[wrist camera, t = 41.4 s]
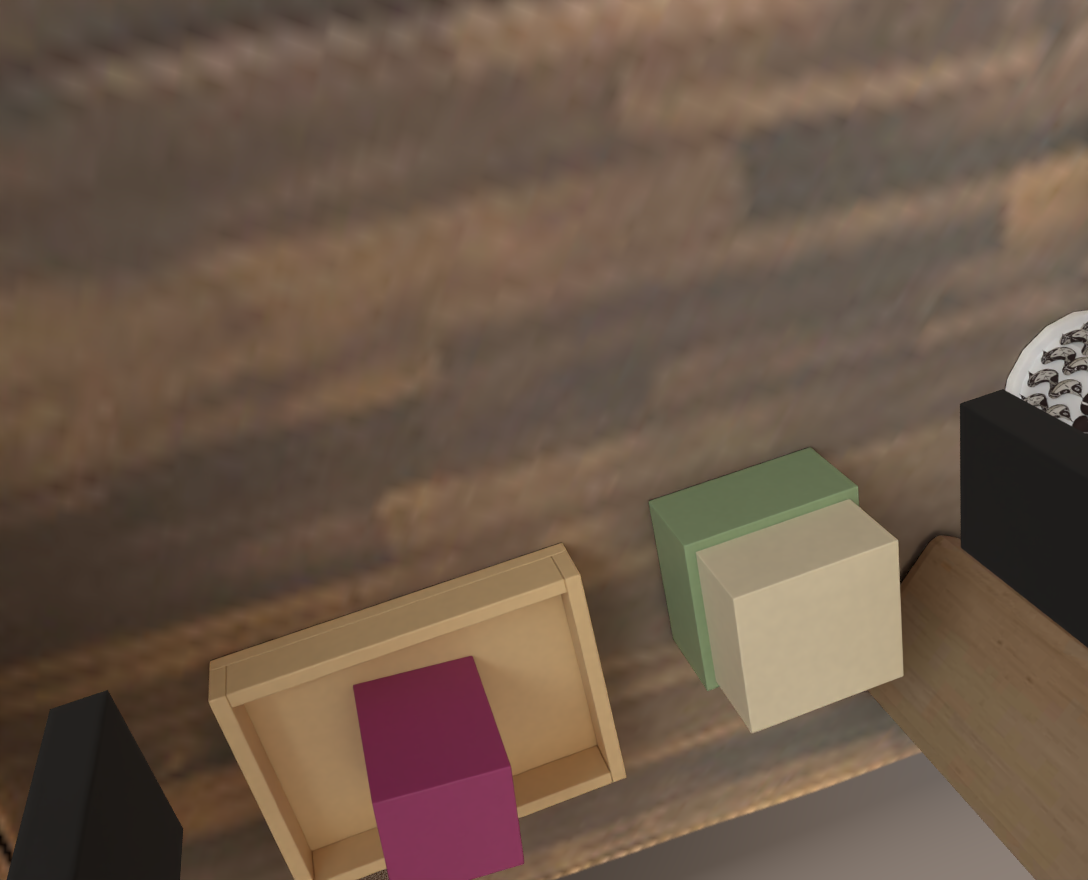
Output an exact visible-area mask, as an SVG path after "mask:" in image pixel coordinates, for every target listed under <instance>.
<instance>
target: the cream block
mask: <svg viewBox="0 0 1088 880" xmlns="http://www.w3.org/2000/svg"><path fill="white" fill-rule="evenodd" d="M696 558H697V565H698V571H699V577H700V584H701V590H702V596H703V603H704V609H705V615H706V622H707V628H708V634H709V641H710V647H711V653H712V660H713V666H714V672H715V679H716V682H717V683H718V685H719V686H720V688H721V689H722V691H723V692H724V693H725V695H726V696H727V698H728V699H729V701H730V702H731V704H732V705H733V707H734V708H735V710H736V711H737V713H738V714H739V716H740V717H741V718H742V720H743V721H744V723H745V724H746V726H747V727H748V729H749V730H750V732H751V733H755V732H758V731H760V730H763V729H766V728H768V727H771V726H773V725H776V724H779V723H781V722H784V721H787V720H789V719H792V718H794V717H797V716H800V715H802V714H805V713H808V712H810V711H813V710H816V709H818V708H821V707H823V706H826V705H829V704H831V703H834V702H837V701H839V700H842V699H844V698H847V697H850V696H852V695H855V694H858V693H860V692H863V691H865V690H868V689H871V688H873V687H876V686H879V685H881V684H884V683H887V682H889V681H892V680H894V679H897V678H900V677H902V676H903V649H902V624H901V598H900V573H899V548H898V540H897V539H896V538H895V537H894V536H893V535H891V534H890V533H889V532H888V531H887V530H886V529H884V528H883V527H882V526H881V525H880V524H879V523H877V522H876V521H875V520H874V519H873V518H871V517H870V516H869V515H868V514H867V513H866V512H864V511H863V510H862V509H861V508H860V507H859V506H857V505H856V504H855V503H854V502H853V501H852V500H850V499H847V500H845V501H842V502H839V503H836V504H833V505H830V506H827V507H824V508H821V509H819V510H816V511H813V512H810V513H807V514H804V515H801V516H798V517H795V518H793V519H790V520H787V521H784V522H781V523H778V524H775V525H772V526H769V527H767V528H764V529H761V530H758V531H755V532H752V533H749V534H746V535H743V536H741V537H738V538H735V539H732V540H729V541H726V542H723V543H720V544H717V545H715V546H712V547H709V548H706V549H703V550H700V551H697V552H696Z"/></svg>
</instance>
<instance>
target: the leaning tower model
mask: <svg viewBox="0 0 1088 880" xmlns="http://www.w3.org/2000/svg"><path fill="white" fill-rule="evenodd" d="M1005 391H1007V392H1009V393H1011V394H1013V395H1015V396H1017V397H1018V398H1020V399H1022V400H1024V401H1026V402H1028V403H1030V404H1031V405H1033V406H1035V407H1037V408H1039V409H1041V410H1043V411H1044V412H1046V413H1048V414H1050V415H1052V416H1054V417H1056V418H1057V419H1059V420H1061V421H1063V422H1065V423H1067V424H1069V425H1070V426H1072V427H1074V428H1076V429H1078V430H1080V431H1082V432H1084V433H1085V434H1087V435H1088V310H1086V311H1078V312H1072V313H1070V314H1069V315H1067V316H1065V317H1063V318H1061V319H1059V320H1057V321H1056V322H1054V323H1052V324H1050V325H1048V326H1046V327H1045V328H1044V329H1043V330H1042V331H1041V332H1040V333H1039V334H1038V335H1037V336H1036V337H1035V338H1034V339H1033V340H1032V341H1031V342H1030V343H1029V344H1028V346H1027V347H1026V348H1025V349H1024V350H1023V351H1022V353H1021V355H1020V357H1019V358H1018V360H1017V362H1016V364H1015V366H1014V367H1013V369H1012V371H1011V373H1010V375H1009V377H1008V379H1007V384H1006V389H1005Z"/></svg>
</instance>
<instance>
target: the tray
mask: <svg viewBox="0 0 1088 880" xmlns="http://www.w3.org/2000/svg"><path fill="white" fill-rule="evenodd" d="M468 656H473V658H474V661H475V664H476V667H477V670H478V673H479V675H480V678H481V681H482V684H483V687H484V690H485V693H486V696H487V698H488V701H489V704H490V707H491V710H492V713H493V716H494V718H495V721H496V724H497V727H498V730H499V733H500V736H501V739H502V741H503V744H504V747H505V750H506V753H507V756H508V759H509V762H510V764H511V769H512V776H513V783H514V791H515V798H516V805H517V813H518V818H521V817H523V816H526V815H529V814H531V813H534V812H536V811H539V810H542V809H544V808H547V807H550V806H552V805H555V804H558V803H560V802H563V801H566V800H568V799H571V798H573V797H576V796H579V795H581V794H584V793H587V792H589V791H592V790H595V789H597V788H600V787H602V786H605V785H608V784H610V783H612V781H613V782H616V781H618V780H621V779H624V778H626V772H625V768H624V763H623V759H622V754H621V750H620V746H619V741H618V737H617V732H616V728H615V724H614V719H613V715H612V711H611V706H610V702H609V697H608V693H607V689H606V684H605V680H604V676H603V671H602V667H601V662H600V658H599V654H598V649H597V645H596V641H595V636H594V632H593V627H592V623H591V619H590V614H589V610H588V606H587V601H586V597H585V592H584V588H583V584H582V579H581V575H580V573H579V571H578V569H577V568H576V566H575V564H574V562H573V561H572V559H571V557H570V555H569V554H568V552H567V550H566V548H565V547H564V545H563V543H560V544H557V545H554V546H551V547H548V548H545V549H542V550H539V551H536V552H533V553H530V554H527V555H524V556H521V557H518V558H515V559H512V560H509V561H506V562H503V563H500V564H497V565H494V566H491V567H488V568H485V569H482V570H479V571H476V572H473V573H470V574H467V575H464V576H461V577H459V578H456V579H453V580H450V581H447V582H444V583H441V584H438V585H435V586H432V587H429V588H426V589H423V590H420V591H417V592H414V593H411V594H408V595H405V596H402V597H399V598H396V599H393V600H390V601H387V602H384V603H381V604H378V605H375V606H372V607H369V608H366V609H363V610H361V611H358V612H355V613H352V614H349V615H346V616H343V617H340V618H337V619H334V620H331V621H328V622H325V623H322V624H319V625H316V626H313V627H310V628H307V629H304V630H301V631H298V632H295V633H292V634H289V635H286V636H283V637H280V638H277V639H274V640H271V641H268V642H265V643H263V644H260V645H257V646H254V647H251V648H248V649H245V650H242V651H239V652H236V653H233V654H230V655H227V656H224V657H221V658H218V659H215V660H212V661H210V668H209V696H208V702H209V705H210V707H211V709H212V711H213V713H214V715H215V717H216V719H217V721H218V723H219V725H220V727H221V729H222V731H223V733H224V735H225V738H226V740H227V742H228V744H229V746H230V748H231V750H232V752H233V754H234V756H235V758H236V760H237V762H238V764H239V766H240V769H241V771H242V773H243V775H244V777H245V779H246V781H247V783H248V785H249V787H250V789H251V791H252V793H253V795H254V797H255V800H256V802H257V804H258V806H259V808H260V810H261V812H262V814H263V816H264V818H265V820H266V822H267V824H268V826H269V828H270V830H271V833H272V835H273V837H274V839H275V841H276V843H277V845H278V847H279V849H280V851H281V853H282V855H283V857H284V859H285V861H286V864H287V866H288V868H289V870H290V872H291V874H292V876H293V878H294V880H357V879H360V878H362V877H365V876H368V875H370V874H373V873H376V872H378V871H381V870H384V869H386V863H385V859H384V855H383V850H382V846H381V841H380V837H379V833H378V828H377V824H376V819H375V815H374V810H373V806H372V800H371V794H370V788H369V782H368V776H367V770H366V764H365V758H364V752H363V746H362V739H361V733H360V727H359V721H358V715H357V709H356V703H355V697H354V691H353V685H355V684H359V683H363V682H367V681H371V680H375V679H379V678H383V677H387V676H391V675H395V674H399V673H403V672H408V671H412V670H416V669H420V668H424V667H428V666H432V665H436V664H440V663H444V662H448V661H452V660H456V659H460V658H464V657H468Z"/></svg>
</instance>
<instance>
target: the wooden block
mask: <svg viewBox="0 0 1088 880" xmlns="http://www.w3.org/2000/svg"><path fill="white" fill-rule="evenodd" d="M900 598H901V624H902V649H903V676H902V677H900V678H897V679H894V680H892V681H889V682H887V683H884V684H881V685H879V686H876V687H873V688H871V689H868V692H869V693H870V694H871V695H872V696H873V697H874V698H875V699H876V701H877V702H878V703H879V704H880V705H881V706H882V707H883V708H884V710H885V711H886V712H887V713H888V714H889V715H890V716H891V717H892V719H893V720H894V721H895V722H896V723H897V724H898V725H899V726H900V728H901V729H902V730H903V731H904V732H905V733H906V734H907V735H908V737H909V738H910V739H911V740H912V741H913V742H914V743H915V744H916V746H917V747H918V748H919V749H920V750H921V751H922V752H923V754H924V755H925V756H926V757H927V758H928V759H929V760H930V761H931V763H932V764H933V765H934V766H935V767H936V768H937V769H938V770H939V772H940V773H941V774H942V775H943V776H944V777H945V778H946V779H947V781H948V782H949V783H950V784H951V785H952V786H953V787H954V788H955V790H956V791H957V792H958V793H959V794H960V795H961V796H962V797H963V799H964V800H965V801H966V802H967V803H968V804H969V805H970V806H971V807H972V809H973V810H974V811H975V812H976V813H977V814H978V815H979V817H980V818H981V819H982V820H983V821H984V822H985V823H986V824H987V826H988V827H989V828H990V829H991V830H992V831H993V832H994V833H995V835H996V836H997V837H998V838H999V839H1000V840H1001V841H1002V842H1003V844H1004V845H1005V846H1006V847H1007V848H1008V849H1009V850H1010V851H1011V853H1012V854H1013V855H1014V856H1015V857H1016V858H1017V859H1018V860H1019V862H1020V863H1021V864H1022V865H1023V866H1024V867H1025V868H1026V869H1027V871H1028V872H1029V873H1030V874H1031V875H1032V876H1033V877H1034V879H1035V880H1088V648H1087V647H1086V646H1085V645H1084V644H1082V643H1081V642H1080V641H1079V640H1077V639H1076V638H1075V637H1073V636H1072V635H1071V634H1070V633H1068V632H1067V631H1066V630H1065V629H1063V628H1062V627H1061V626H1059V625H1058V624H1057V623H1056V622H1054V621H1053V620H1052V619H1051V618H1049V617H1048V616H1047V615H1046V614H1044V613H1043V612H1042V611H1040V610H1039V609H1038V608H1037V607H1035V606H1034V605H1033V604H1032V603H1030V602H1029V601H1028V600H1026V599H1025V598H1024V597H1023V596H1021V595H1020V594H1019V593H1018V592H1016V591H1015V590H1014V589H1013V588H1011V587H1010V586H1009V585H1007V584H1006V583H1005V582H1004V581H1002V580H1001V579H1000V578H999V577H997V576H996V575H995V574H993V573H992V572H991V571H990V570H988V569H987V568H986V567H985V566H983V565H982V564H981V563H980V562H978V561H977V560H976V559H974V558H973V557H972V556H971V555H969V554H968V553H967V552H966V551H964V550H963V549H962V548H961V539H958V538H956V537H951V536H937V537H936V538H934V539H933V540H932V541H930V542H929V544H928V545H927V546H926V548H925V549H924V551H923V552H922V554H921V555H920V557H919V558H918V560H917V561H916V563H915V564H914V566H913V567H912V568H911V570H910V571H909V573H908V574H907V576H906V577H905V579H904V580H903V582H902V583H901V585H900Z"/></svg>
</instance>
